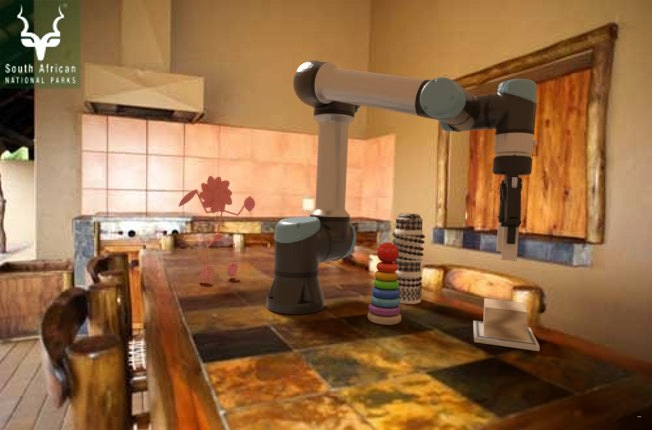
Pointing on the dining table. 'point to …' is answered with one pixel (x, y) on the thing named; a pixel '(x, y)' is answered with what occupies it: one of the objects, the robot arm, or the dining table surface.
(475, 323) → the board
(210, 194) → the figurine
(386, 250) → the stacking toy
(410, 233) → the decorative candle
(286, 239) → the robot arm
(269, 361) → the dining table surface
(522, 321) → the birch block
